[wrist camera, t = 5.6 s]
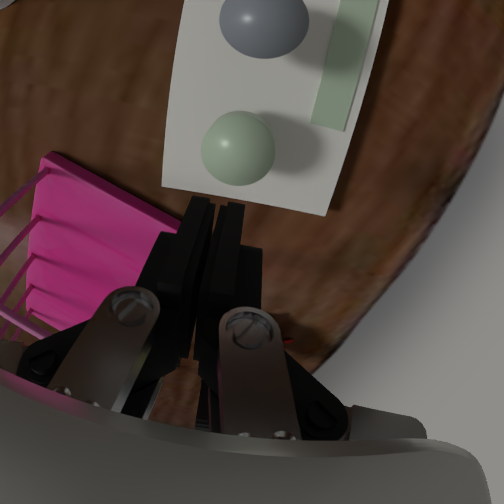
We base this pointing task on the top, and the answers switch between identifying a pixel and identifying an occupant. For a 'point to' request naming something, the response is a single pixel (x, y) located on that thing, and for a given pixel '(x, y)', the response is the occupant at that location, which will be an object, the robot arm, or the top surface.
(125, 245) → the file sorter
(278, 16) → the grey rounded piece
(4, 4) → the white cylinder
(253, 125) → the pale green rounded piece
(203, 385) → the ink cartridge
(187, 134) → the button panel
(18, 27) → the top surface
